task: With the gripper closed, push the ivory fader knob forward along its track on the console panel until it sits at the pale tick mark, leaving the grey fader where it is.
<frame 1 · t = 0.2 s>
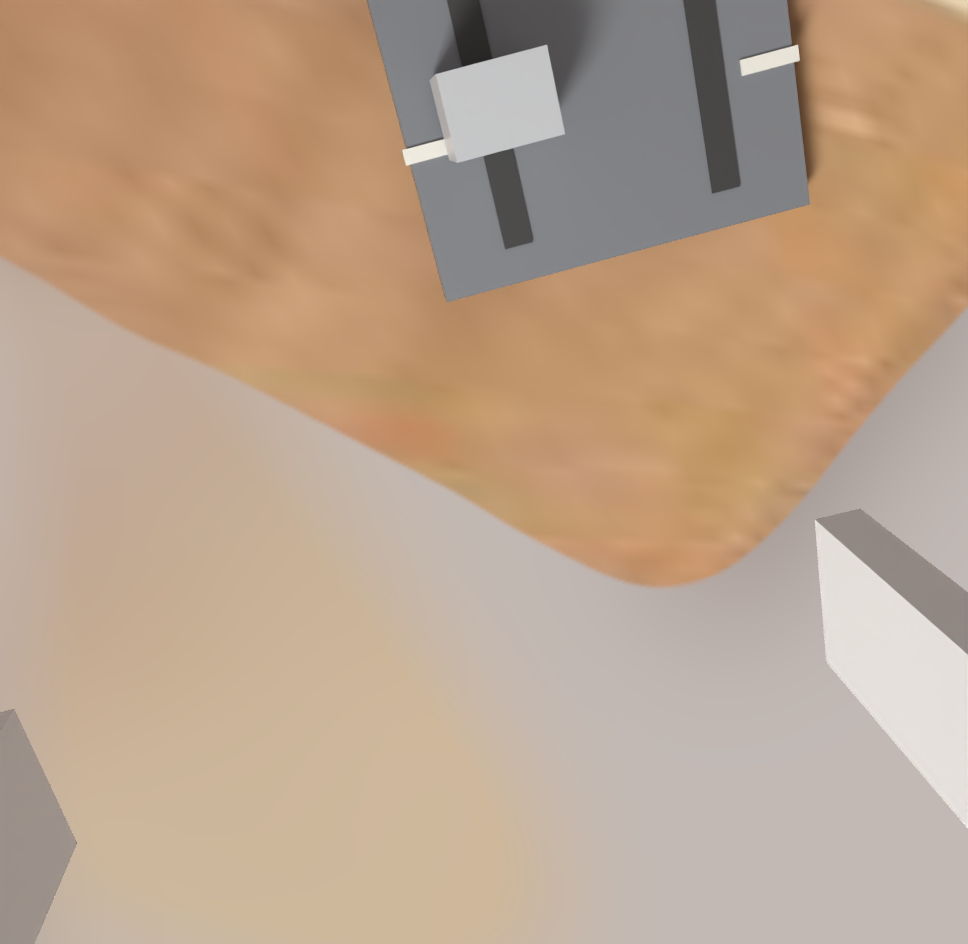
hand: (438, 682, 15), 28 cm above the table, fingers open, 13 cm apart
console: (573, 2, 37), on the table
fader grey: (494, 106, 34), point 4 cm above the table, slide at 9.0 cm
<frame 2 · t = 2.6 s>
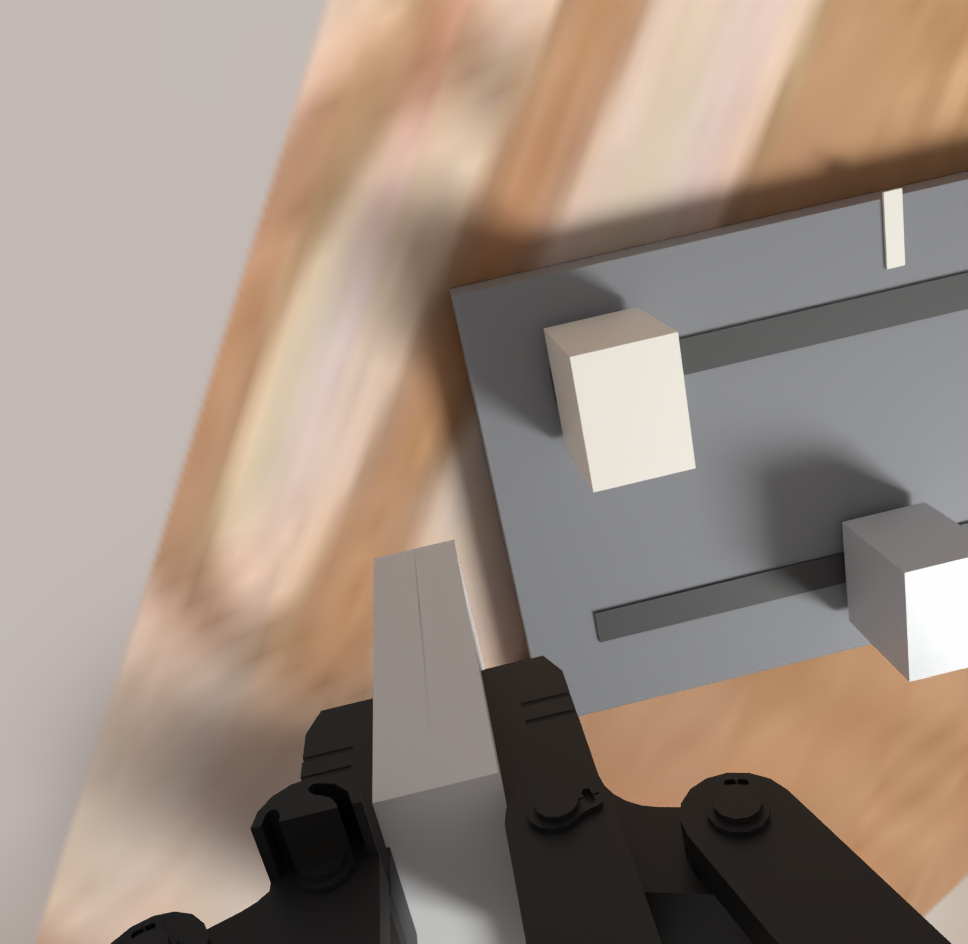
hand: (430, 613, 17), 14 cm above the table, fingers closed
console: (771, 448, 33), on the table
fader grey: (917, 588, 31), point 4 cm above the table, slide at 9.0 cm
fader ivory: (616, 395, 27), point 4 cm above the table, slide at 0.0 cm
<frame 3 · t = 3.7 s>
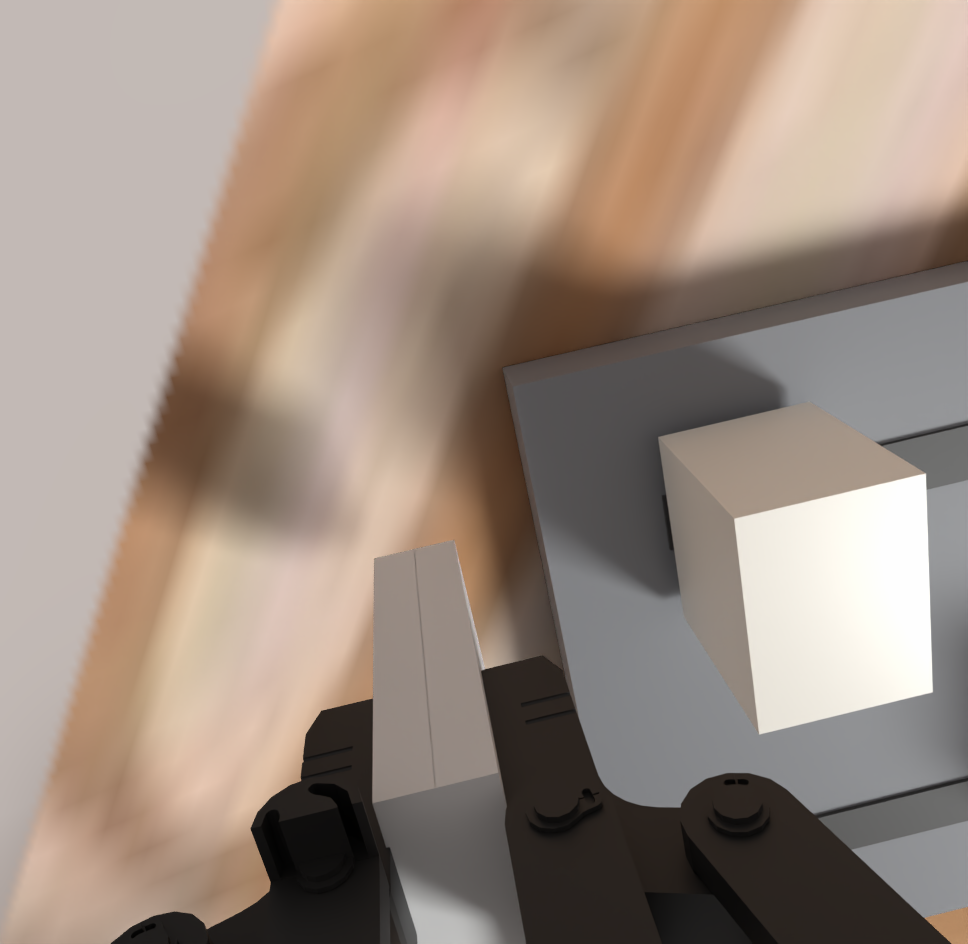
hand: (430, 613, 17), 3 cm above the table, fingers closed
fader ivory: (786, 556, 16), point 4 cm above the table, slide at 0.0 cm
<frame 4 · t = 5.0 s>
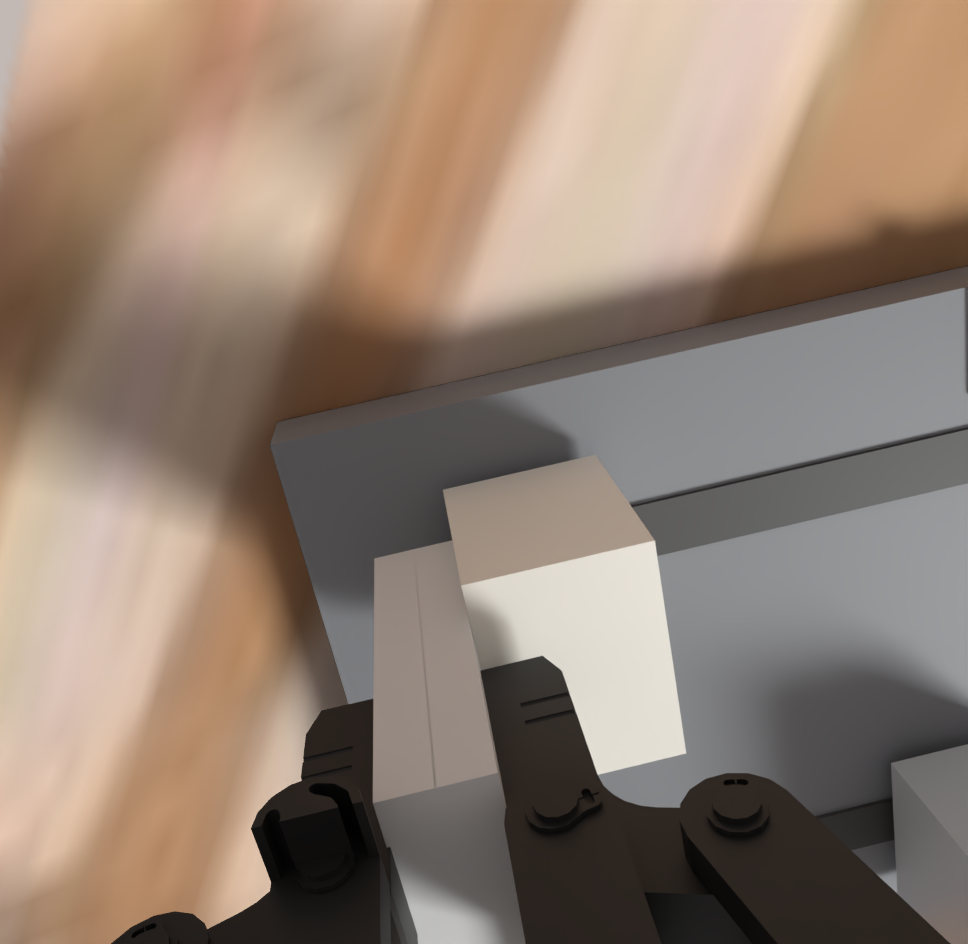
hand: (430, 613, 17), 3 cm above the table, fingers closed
console: (784, 642, 22), on the table
fader ivory: (556, 612, 16), point 4 cm above the table, slide at 0.5 cm, touching gripper
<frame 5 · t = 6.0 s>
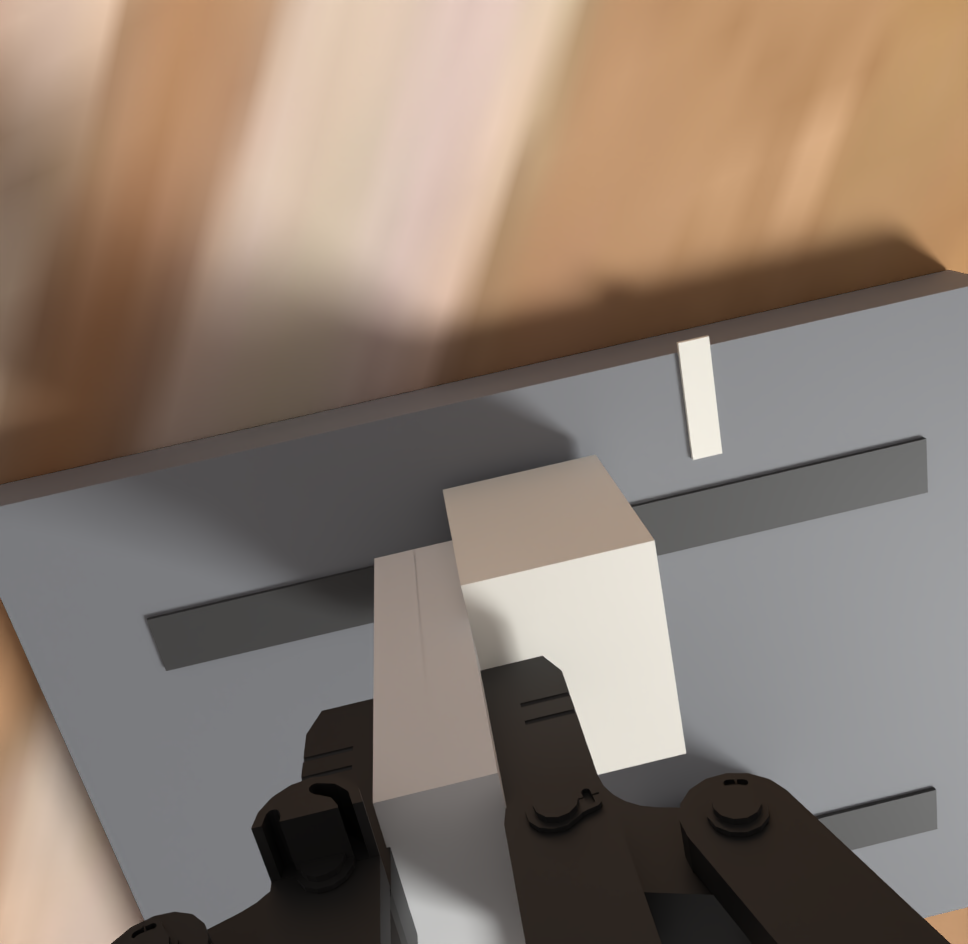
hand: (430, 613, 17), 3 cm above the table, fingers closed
console: (547, 699, 22), on the table
fader ivory: (556, 612, 16), point 4 cm above the table, slide at 6.3 cm, touching gripper
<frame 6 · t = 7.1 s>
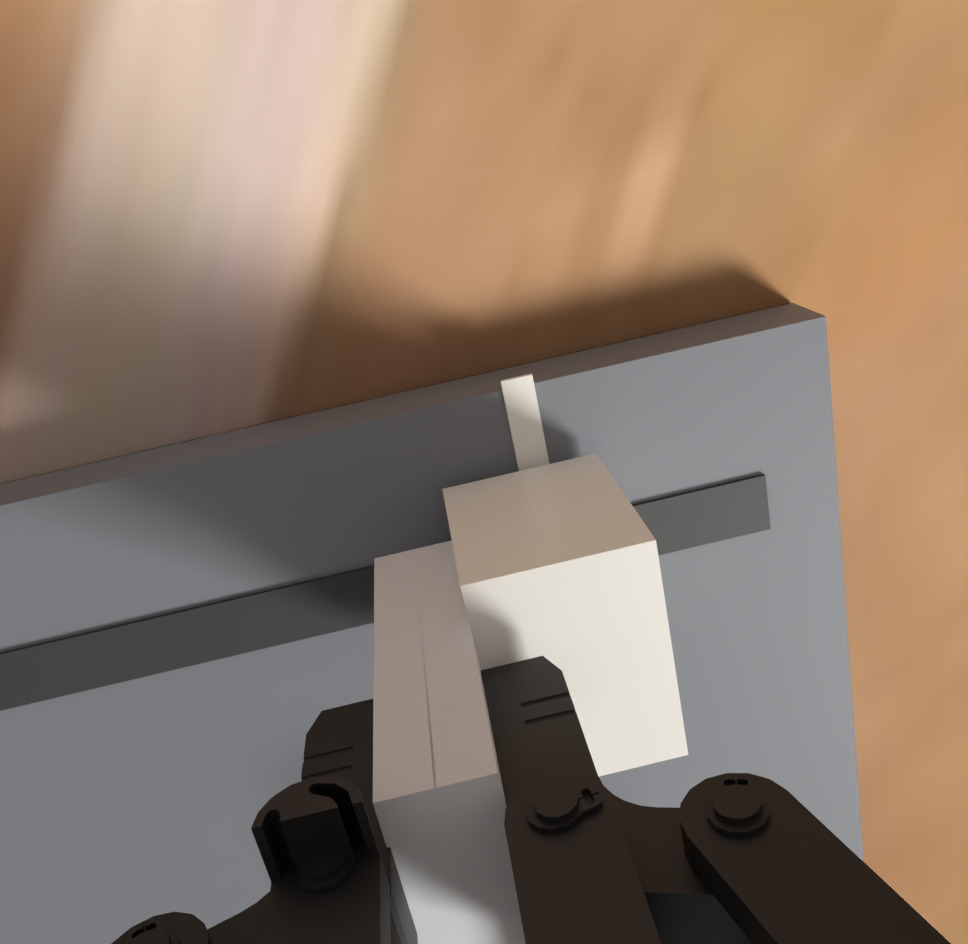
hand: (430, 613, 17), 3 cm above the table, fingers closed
console: (405, 733, 21), on the table
fader ivory: (557, 612, 16), point 4 cm above the table, slide at 9.7 cm, touching gripper
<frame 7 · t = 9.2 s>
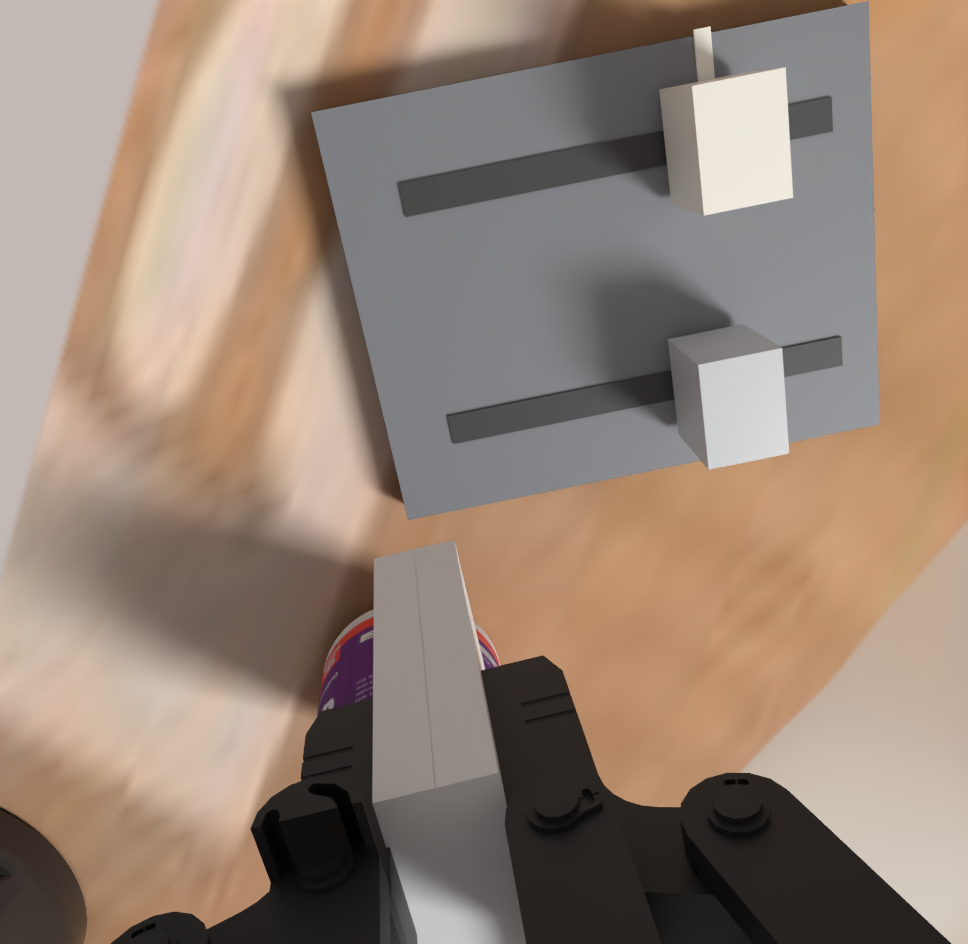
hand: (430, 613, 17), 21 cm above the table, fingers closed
pill bottle: (412, 665, 43), on the table
console: (611, 275, 37), on the table
fader grey: (726, 394, 35), point 4 cm above the table, slide at 9.0 cm
fader ivory: (723, 141, 31), point 4 cm above the table, slide at 9.7 cm
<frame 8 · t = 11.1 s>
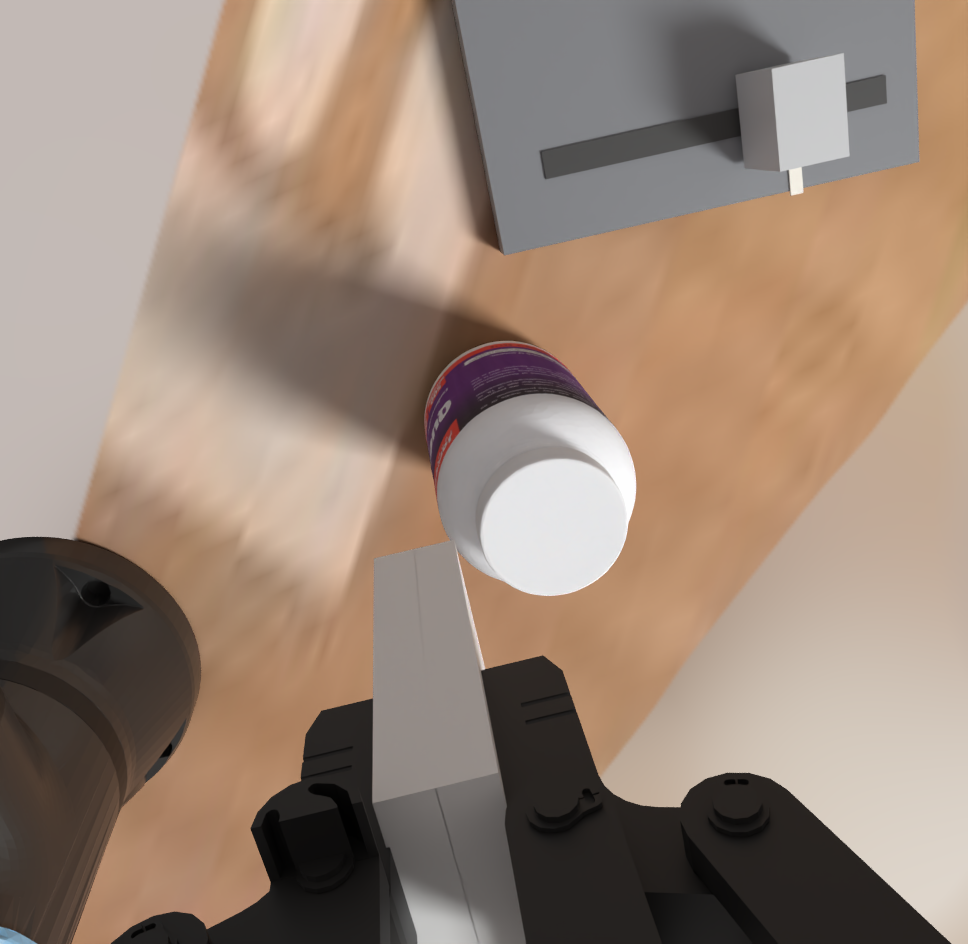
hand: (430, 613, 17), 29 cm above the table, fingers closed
pill bottle: (501, 413, 47), on the table
console: (682, 25, 41), on the table
fader grey: (790, 114, 39), point 4 cm above the table, slide at 9.0 cm
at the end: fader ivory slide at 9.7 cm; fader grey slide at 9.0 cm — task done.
